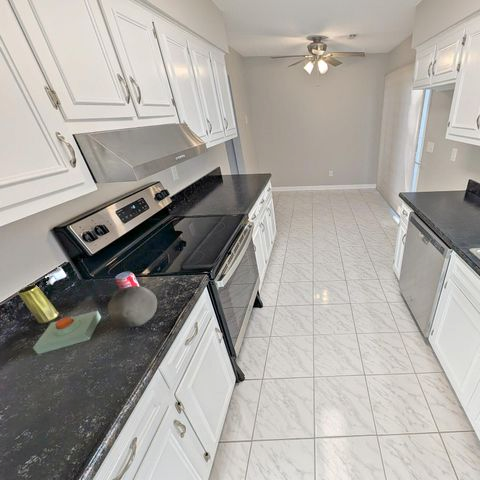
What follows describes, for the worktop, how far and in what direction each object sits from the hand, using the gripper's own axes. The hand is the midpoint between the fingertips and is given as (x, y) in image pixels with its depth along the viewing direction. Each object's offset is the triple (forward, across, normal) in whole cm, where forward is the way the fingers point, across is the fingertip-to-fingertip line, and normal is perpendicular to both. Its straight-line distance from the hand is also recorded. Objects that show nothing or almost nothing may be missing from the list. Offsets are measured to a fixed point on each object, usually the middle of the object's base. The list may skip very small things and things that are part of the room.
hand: (33, 289), depth 101 cm
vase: (+10, 0, +9) cm, 14 cm away
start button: (+30, +5, +4) cm, 30 cm away
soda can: (+26, +26, +9) cm, 37 cm away
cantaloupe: (+44, +23, +9) cm, 51 cm away
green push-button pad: (+30, +5, +9) cm, 31 cm away
